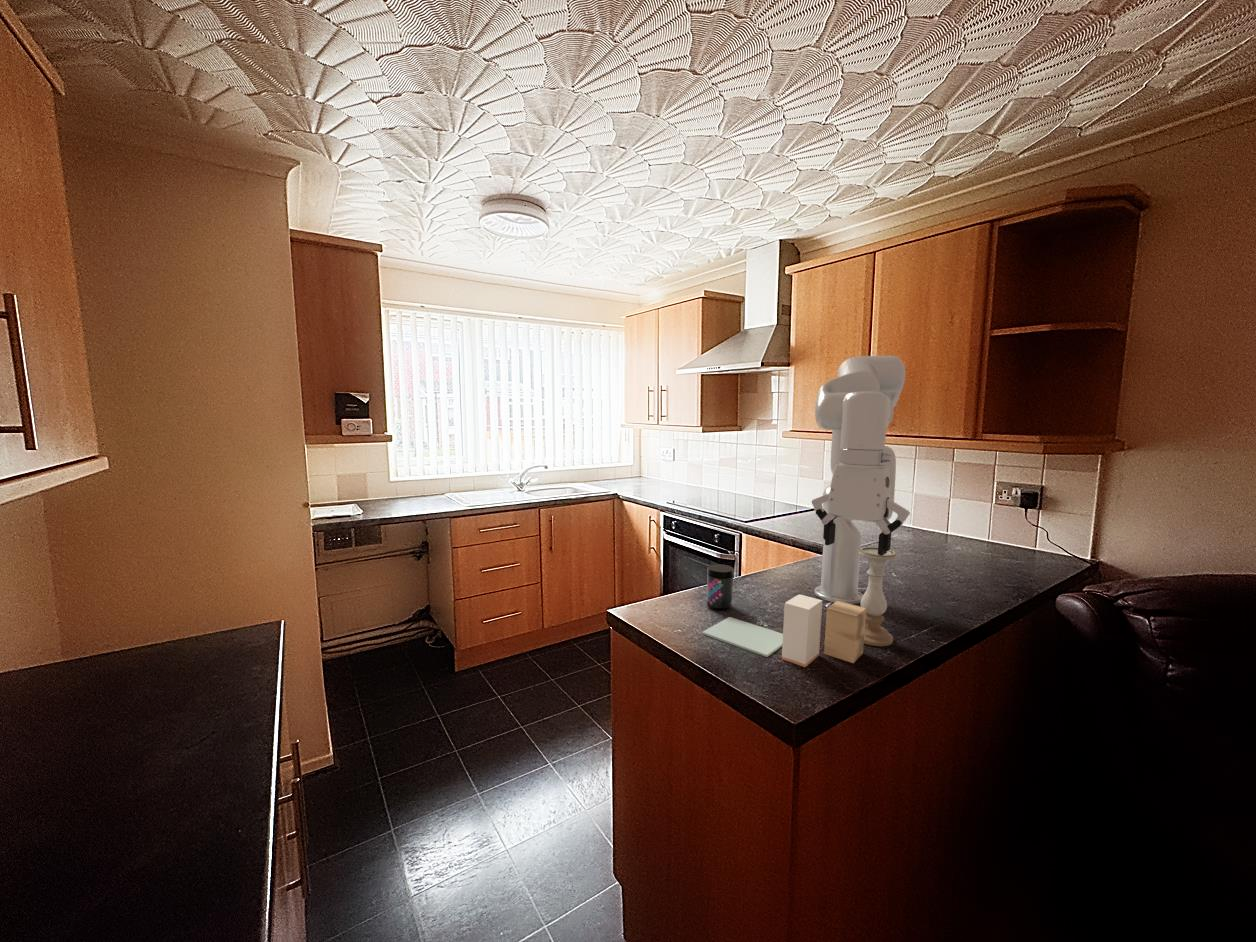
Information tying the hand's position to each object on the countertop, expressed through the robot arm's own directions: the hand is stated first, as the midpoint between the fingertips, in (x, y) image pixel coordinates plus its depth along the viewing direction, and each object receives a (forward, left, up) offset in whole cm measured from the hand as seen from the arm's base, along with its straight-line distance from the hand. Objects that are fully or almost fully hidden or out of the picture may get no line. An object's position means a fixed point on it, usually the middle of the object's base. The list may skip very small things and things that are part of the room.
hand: (855, 548), depth 96 cm
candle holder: (-21, -2, -25) cm, 33 cm away
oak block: (-9, -4, -25) cm, 27 cm away
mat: (-2, -23, -25) cm, 34 cm away
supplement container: (-13, -37, -25) cm, 46 cm away
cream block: (-1, -10, -25) cm, 27 cm away
